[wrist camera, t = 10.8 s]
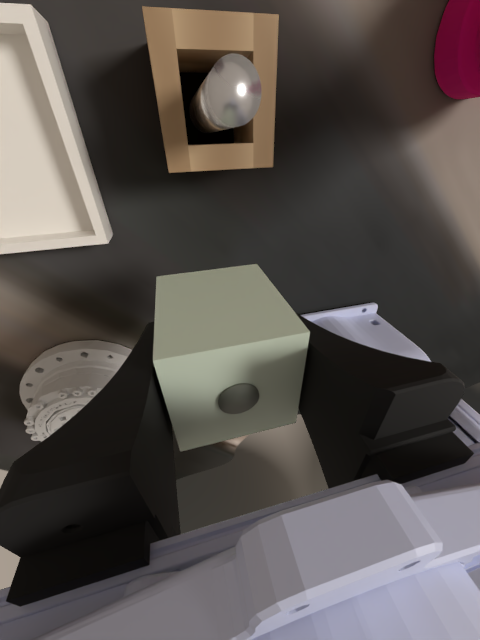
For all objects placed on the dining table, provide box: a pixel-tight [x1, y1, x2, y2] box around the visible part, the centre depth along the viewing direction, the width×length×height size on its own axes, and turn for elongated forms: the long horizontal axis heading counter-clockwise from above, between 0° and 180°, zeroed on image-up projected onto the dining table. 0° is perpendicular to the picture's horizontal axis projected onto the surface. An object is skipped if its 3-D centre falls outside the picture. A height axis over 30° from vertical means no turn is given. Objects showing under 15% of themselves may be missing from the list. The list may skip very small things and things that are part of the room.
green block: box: [153, 264, 310, 452], centre depth 11 cm, size 5×5×6 cm
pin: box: [189, 53, 262, 133], centre depth 11 cm, size 2×2×7 cm
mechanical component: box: [19, 340, 132, 441], centre depth 21 cm, size 10×4×10 cm
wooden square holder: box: [142, 7, 279, 173], centre depth 12 cm, size 5×5×4 cm
